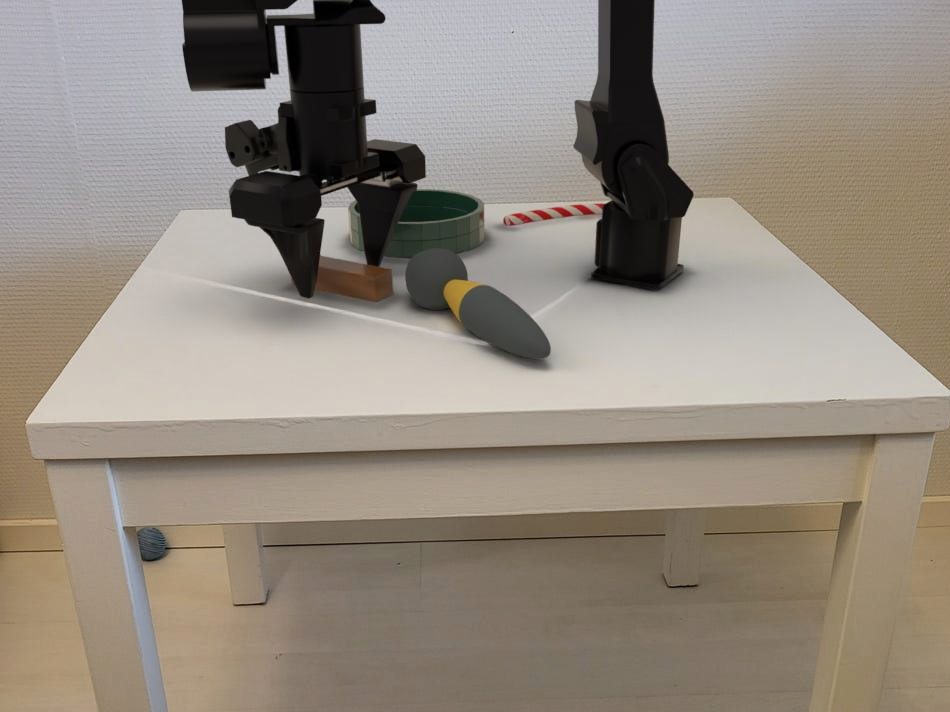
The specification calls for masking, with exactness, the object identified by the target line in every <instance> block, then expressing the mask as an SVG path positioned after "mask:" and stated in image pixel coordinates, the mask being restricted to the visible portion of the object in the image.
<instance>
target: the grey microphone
mask: <svg viewBox="0 0 950 712" xmlns="http://www.w3.org/2000/svg"><path fill="white" fill-rule="evenodd" d="M404 279H405V285H406V289H407V292H408V294H409V296H410V297H411V299H412V300H413V301H414V302H415V304H417V305H418V306H419V307H421V308H423V309H426V310H430V311H443V310H447V309H451V311H452V313H453V314H454V316H455V317H456V318H457V320H458V321H459V322H460V323H461V325H462V326H463V328H465V329H467V331H469V332H470V333H472V334H474V335H475V336H477V337H478V338H480V339H481V340H483V341H484V342H486V343H488V344H490V345H492V346H493V347H496V348H499V349H501V350H503V351H505V352H508V353H511V354H513V355H515V356H519V357H522V358H526V359H532V360H542V359H545V358H548V357H549V356H550V355H551V351H552V347H551V343H550V341H549V339H548V336H547V334H545V332H544V331H543V329H542V328H541V327H540V325H539V324H538V323H537V322H536V321H535V319H534V318H533V317H532V316H530V314H528V312H527V311H526V310H524V309H523V308H522V307H521V306H520V305H519V304H517V302H515V301H514V300H513V299H511V298H510V297H509V296H507V295H506V294H504V293H502V292H501V291H500V290H498V289H496V288H494V287H492V286H491V285H488V284H484V283H480V282H475V281H470V280H469V275H468V269H467V266H466V264H465V263H464V261H463V259H462V258H461V257H460V256H459V255H458V254H455V253H454V252H452V251H450V250H447V249H441V248H432V249H427V250H424V251H422V252H419V253H417V254H416V255H414V256H413V257H412V258H409V260H408V262H407V264H406V268H405V277H404Z"/></svg>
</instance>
